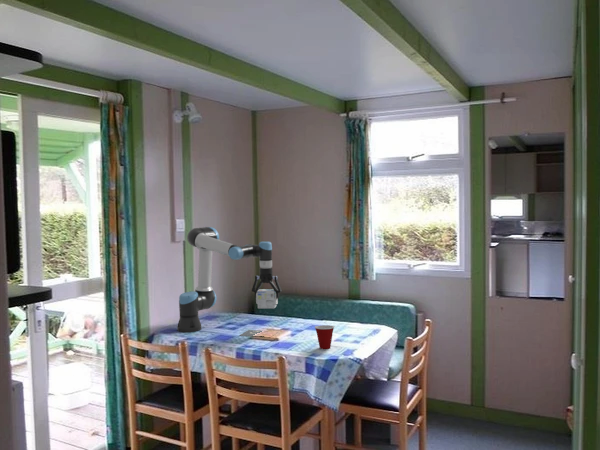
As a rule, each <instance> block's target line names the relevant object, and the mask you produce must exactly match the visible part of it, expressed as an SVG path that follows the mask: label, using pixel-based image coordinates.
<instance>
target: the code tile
mask: <svg viewBox="0 0 600 450" xmlns="http://www.w3.org/2000/svg"><path fill="white" fill-rule="evenodd" d="M262 331H263V330H260V329H259V330H258V329H257V330H256V329H248V330H245V331H244V332H243V333H241V334H240V335H239V337H240V336H241V337H251V336H253V335H255V334H257V333H260V332H262Z"/></svg>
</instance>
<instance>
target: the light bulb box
mask: <svg viewBox="0 0 600 450" xmlns="http://www.w3.org/2000/svg"><path fill="white" fill-rule="evenodd" d="M275 293H276V292H275V291H274V289H273V288H272V289H271V288H270V289H267V288H266V289H265V288H263V289H261V288H260V289H259V290H258V291H257V303H258V304H257V309H275V308H276V307H277V304H275Z"/></svg>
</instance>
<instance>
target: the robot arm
mask: <svg viewBox="0 0 600 450" xmlns="http://www.w3.org/2000/svg"><path fill="white" fill-rule="evenodd" d="M187 242H188V243H189V245H190V246H192V247H194V248H196V249H198V269H197V271H198V273H197V275H198V276H197V287H195V291H193V290H191V291H185V292H182V293H181V294H180V295H179V297H178V306H179V307H178V308H179V319H178V323H177V326H176V328H177V332H180V333H193V332H198V331H201V330H202V323H201V321H200V318H199V312H200V311H203V310H208V309H210V308H212V307H214V306H215V305H216V302H217V294H216V292H215V290H214V288H213V287H212V273H213V272H212V271H213V270H212V269H213V252H215V253H219V254H221V255H224V256H228V257H229V258H230V259H231V260H232V261H233V260H235V261H237V260H239V261H240V260H242V259H248V258H259V267H260V268H259V275H255V276H254V282H253V284H252V288H251V292H253V293H254V298H255V302H256V303H255V304H257V305H258V303H257V291H258V290H259V289H261V287H262V285H263V284H269V285H270V286H271V288H272V289H274V291H275V292H276V293H275V304H276V305H278V302H279V301H278V300H279V298H280V293H281V292H283V290H282V287H281V284H280V282H279V280H278V279H279V277H278V275H276V276H275V275H273V246H272V242H271V241H260V242H259V243H258V244H250V243H249V244H245V245H240V246H239V245H237V244H233V243H232V242H231V243H230V242H227V241H224V240H221V239H220V234H219V231H217V229H216V228H214V227H211V226H205V227H204V226H203V227H196V228H192V229H190V230H189V231H188V233H187ZM273 280H274V281H273Z"/></svg>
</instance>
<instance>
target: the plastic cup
mask: <svg viewBox="0 0 600 450" xmlns="http://www.w3.org/2000/svg"><path fill="white" fill-rule="evenodd" d="M314 329H315V331H316V336H317V342H318V346H319V349H320V350H330V349H331V346H332V340H333V332H334V329H335V326H334V325H331V324H330V325H328V324H326V325H323V324H322V325H316V326H314Z"/></svg>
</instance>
